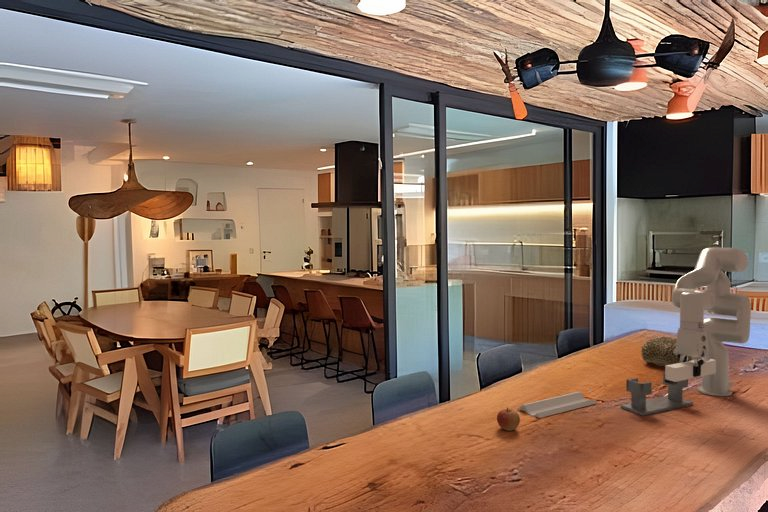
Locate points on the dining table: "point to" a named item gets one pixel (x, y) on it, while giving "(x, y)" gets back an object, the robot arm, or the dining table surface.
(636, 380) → the bracket stand
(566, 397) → the crown molding
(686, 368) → the rail
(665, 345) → the coral
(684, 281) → the robot arm
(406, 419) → the dining table surface
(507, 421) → the apple
